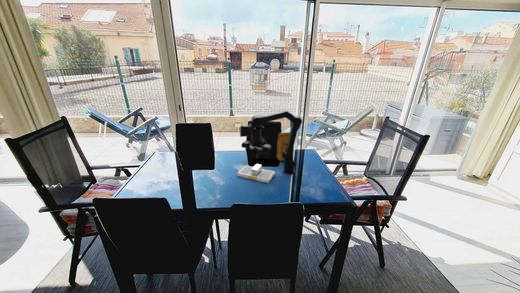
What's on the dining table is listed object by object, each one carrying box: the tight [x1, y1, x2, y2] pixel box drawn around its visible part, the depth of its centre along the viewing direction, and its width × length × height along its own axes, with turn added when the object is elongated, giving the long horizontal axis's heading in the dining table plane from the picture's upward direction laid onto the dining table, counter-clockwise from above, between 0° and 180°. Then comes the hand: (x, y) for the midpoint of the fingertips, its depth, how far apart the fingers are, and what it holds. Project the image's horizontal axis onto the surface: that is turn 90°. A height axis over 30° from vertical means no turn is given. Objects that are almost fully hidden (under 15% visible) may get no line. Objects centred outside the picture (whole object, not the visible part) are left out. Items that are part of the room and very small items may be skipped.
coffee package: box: [276, 131, 295, 162], centre depth 166 cm, size 10×12×22 cm
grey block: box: [251, 163, 263, 177], centre depth 145 cm, size 4×8×6 cm, turn 156°
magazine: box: [254, 138, 270, 160], centre depth 169 cm, size 4×13×15 cm, turn 95°
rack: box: [237, 164, 276, 184], centre depth 146 cm, size 22×12×2 cm, turn 67°
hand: (256, 158), depth 143 cm, fingers closed
